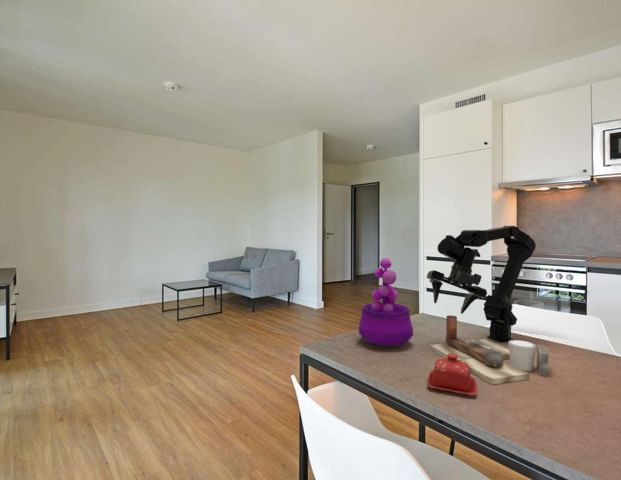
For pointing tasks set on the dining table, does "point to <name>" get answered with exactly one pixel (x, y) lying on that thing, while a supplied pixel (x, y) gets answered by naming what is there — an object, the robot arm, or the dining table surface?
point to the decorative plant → (385, 313)
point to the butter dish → (452, 376)
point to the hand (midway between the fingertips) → (448, 308)
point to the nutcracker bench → (494, 373)
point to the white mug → (522, 354)
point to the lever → (471, 345)
